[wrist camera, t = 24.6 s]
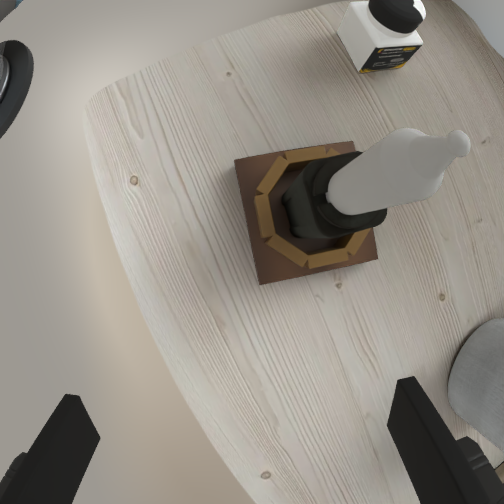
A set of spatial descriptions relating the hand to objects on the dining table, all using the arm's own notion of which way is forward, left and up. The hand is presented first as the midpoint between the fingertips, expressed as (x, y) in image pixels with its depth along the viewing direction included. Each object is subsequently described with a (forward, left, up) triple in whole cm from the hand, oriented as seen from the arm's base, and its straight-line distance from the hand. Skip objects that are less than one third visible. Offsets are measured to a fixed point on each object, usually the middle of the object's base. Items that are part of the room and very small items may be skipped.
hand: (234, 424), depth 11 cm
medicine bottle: (+23, +29, -24) cm, 44 cm away
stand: (+9, +9, -24) cm, 27 cm away
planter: (+33, -18, -24) cm, 45 cm away
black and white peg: (+9, +9, -22) cm, 25 cm away
